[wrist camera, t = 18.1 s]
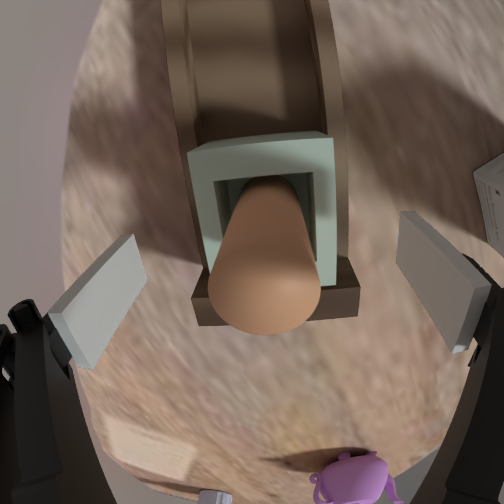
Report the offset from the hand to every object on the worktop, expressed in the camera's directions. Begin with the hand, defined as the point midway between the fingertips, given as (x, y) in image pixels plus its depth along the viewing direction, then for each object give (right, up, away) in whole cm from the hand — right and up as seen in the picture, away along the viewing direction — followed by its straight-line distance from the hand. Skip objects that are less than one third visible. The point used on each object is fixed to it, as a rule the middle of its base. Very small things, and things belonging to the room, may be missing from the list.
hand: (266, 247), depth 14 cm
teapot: (+20, -42, +32) cm, 57 cm away
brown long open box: (0, +10, +7) cm, 12 cm away
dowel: (0, +3, +6) cm, 7 cm away
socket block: (+1, +4, +8) cm, 9 cm away
